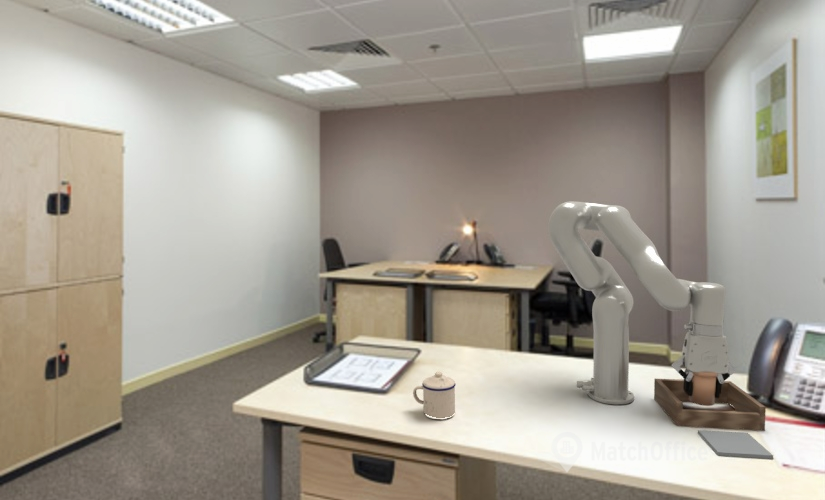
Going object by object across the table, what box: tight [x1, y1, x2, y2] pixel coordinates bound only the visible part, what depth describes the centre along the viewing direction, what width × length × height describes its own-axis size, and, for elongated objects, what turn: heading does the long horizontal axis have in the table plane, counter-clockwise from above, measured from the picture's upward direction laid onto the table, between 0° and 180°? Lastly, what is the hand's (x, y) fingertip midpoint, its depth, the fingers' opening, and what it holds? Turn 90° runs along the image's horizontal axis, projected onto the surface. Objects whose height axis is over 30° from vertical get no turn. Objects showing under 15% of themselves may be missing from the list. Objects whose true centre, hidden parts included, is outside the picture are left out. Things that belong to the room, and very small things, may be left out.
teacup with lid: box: [412, 371, 456, 418], centre depth 132 cm, size 12×9×12 cm
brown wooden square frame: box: [653, 378, 767, 432], centre depth 128 cm, size 20×18×6 cm
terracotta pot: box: [688, 372, 718, 407], centre depth 128 cm, size 7×7×9 cm
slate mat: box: [697, 429, 774, 460], centre depth 111 cm, size 11×11×1 cm
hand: (701, 394), depth 128 cm, fingers closed on terracotta pot, 6 cm apart
